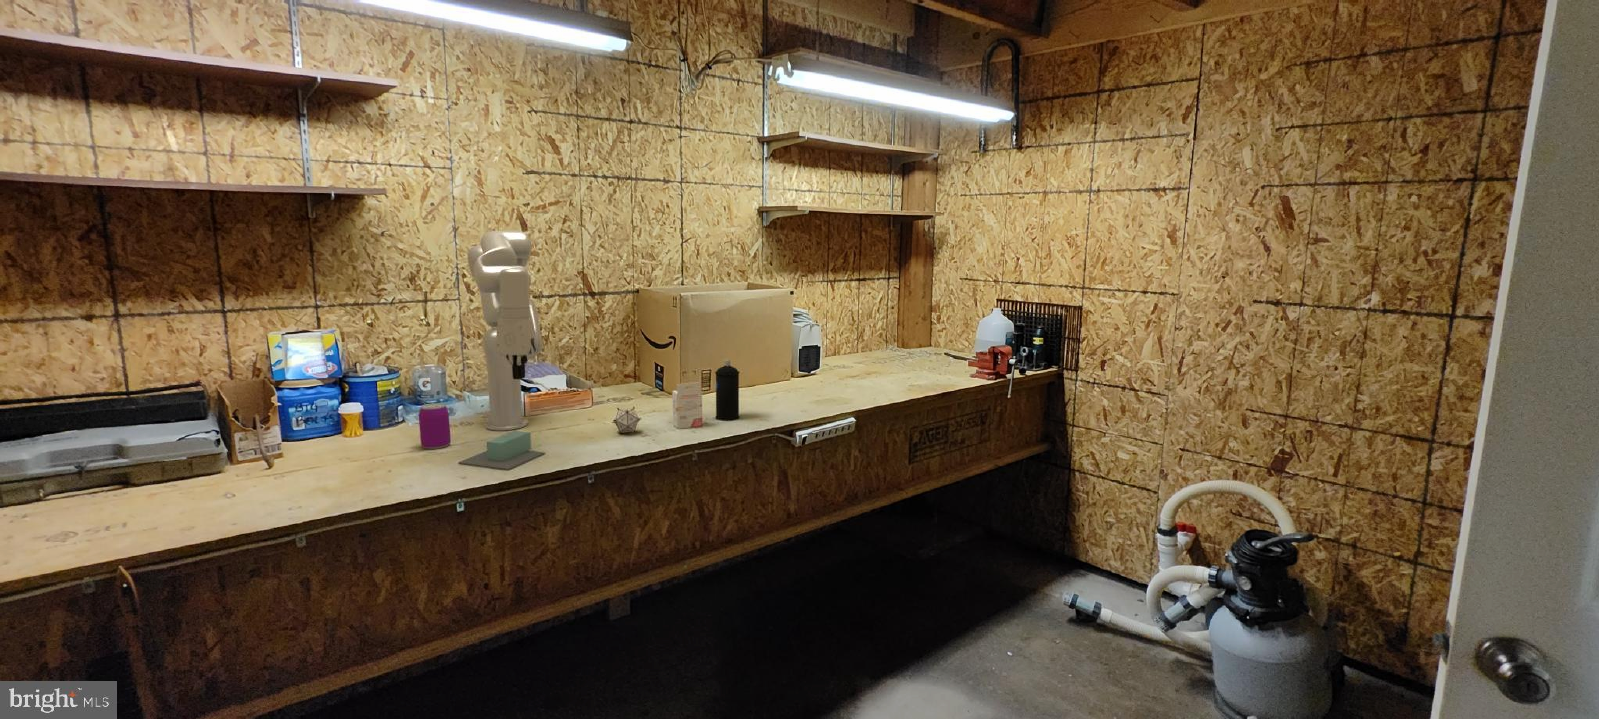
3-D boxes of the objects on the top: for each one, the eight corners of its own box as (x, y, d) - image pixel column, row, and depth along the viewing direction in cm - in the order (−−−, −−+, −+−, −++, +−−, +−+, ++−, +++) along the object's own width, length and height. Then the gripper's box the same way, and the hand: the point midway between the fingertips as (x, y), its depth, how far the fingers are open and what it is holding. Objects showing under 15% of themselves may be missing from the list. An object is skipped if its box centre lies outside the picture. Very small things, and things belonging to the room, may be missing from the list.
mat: (458, 463, 190) (458, 462, 190) (497, 448, 204) (497, 446, 204) (508, 470, 186) (508, 468, 185) (544, 454, 200) (544, 452, 200)
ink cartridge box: (697, 422, 235) (697, 379, 233) (702, 426, 231) (702, 381, 228) (672, 425, 231) (671, 381, 229) (677, 429, 227) (676, 384, 225)
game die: (630, 445, 221) (631, 426, 214) (606, 434, 222) (606, 414, 215) (645, 426, 228) (646, 406, 221) (621, 415, 229) (622, 395, 222)
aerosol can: (744, 417, 243) (744, 359, 240) (729, 422, 236) (729, 363, 233) (725, 413, 248) (725, 357, 244) (710, 418, 241) (709, 360, 237)
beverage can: (445, 440, 211) (442, 401, 209) (454, 446, 206) (452, 405, 204) (417, 445, 206) (414, 405, 204) (426, 451, 200) (423, 410, 198)
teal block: (517, 447, 204) (487, 459, 193) (516, 430, 203) (486, 441, 192) (531, 448, 203) (502, 461, 191) (531, 431, 202) (501, 443, 190)
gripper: (483, 313, 195) (487, 378, 198) (529, 316, 191) (532, 383, 194) (502, 310, 202) (506, 373, 205) (547, 313, 198) (550, 378, 201)
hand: (519, 378), depth 200 cm, fingers closed
